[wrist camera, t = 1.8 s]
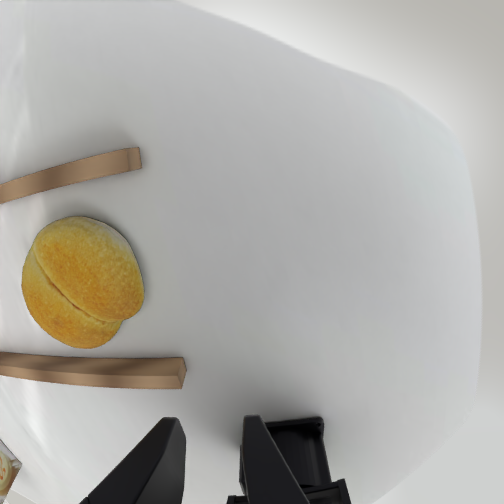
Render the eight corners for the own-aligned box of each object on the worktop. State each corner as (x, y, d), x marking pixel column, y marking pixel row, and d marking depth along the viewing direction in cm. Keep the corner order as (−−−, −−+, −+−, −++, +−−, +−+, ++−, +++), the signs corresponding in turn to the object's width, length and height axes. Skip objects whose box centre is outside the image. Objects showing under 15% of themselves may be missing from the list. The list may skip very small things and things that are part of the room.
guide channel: (138, 147, 17) (110, 149, 13) (186, 370, 22) (176, 409, 18) (-67, 213, 18) (-96, 225, 14) (-16, 359, 23) (-37, 381, 19)
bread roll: (171, 274, 20) (154, 305, 16) (98, 348, 22) (77, 381, 18) (78, 182, 18) (43, 193, 14) (21, 272, 20) (-10, 295, 16)
